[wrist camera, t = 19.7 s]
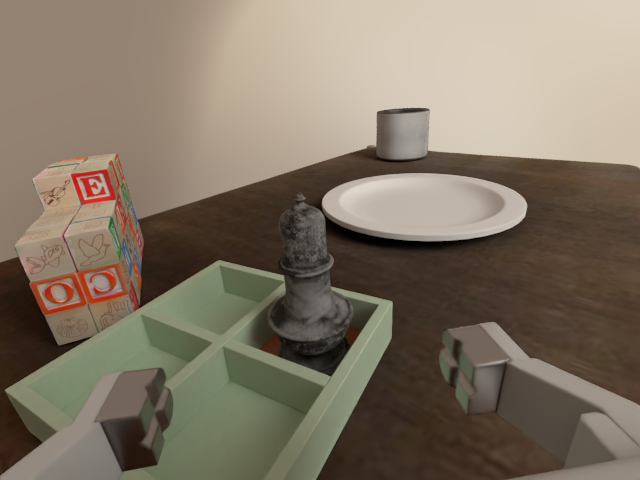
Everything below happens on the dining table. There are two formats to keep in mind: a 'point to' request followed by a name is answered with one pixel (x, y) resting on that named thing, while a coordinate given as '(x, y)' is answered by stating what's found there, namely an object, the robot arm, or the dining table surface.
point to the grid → (219, 379)
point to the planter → (402, 134)
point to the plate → (424, 207)
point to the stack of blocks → (83, 247)
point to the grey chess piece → (309, 294)
